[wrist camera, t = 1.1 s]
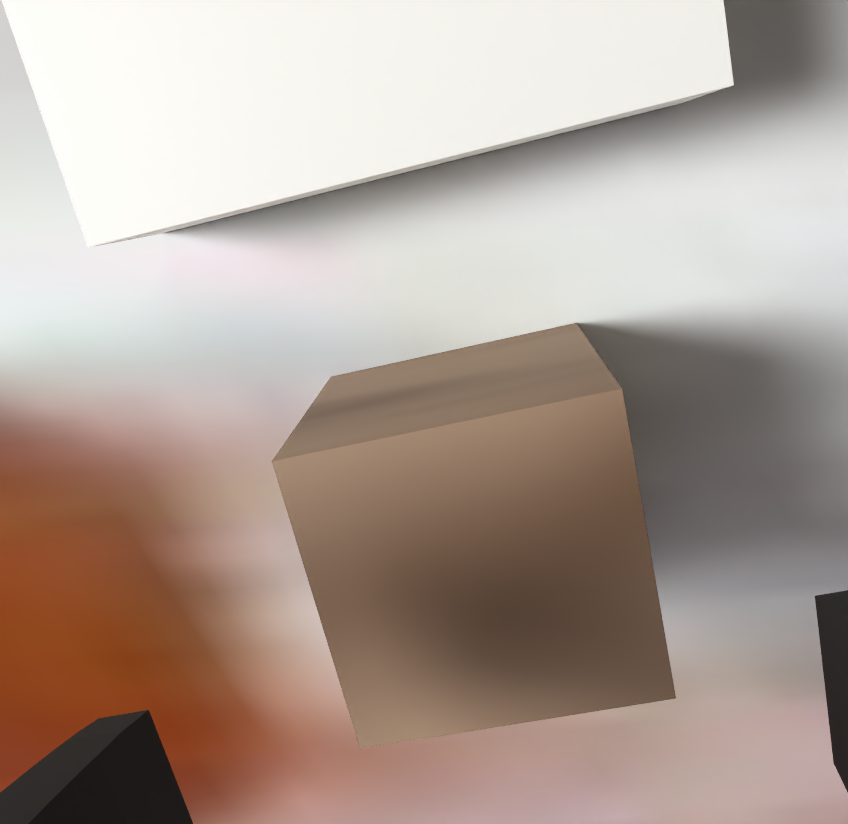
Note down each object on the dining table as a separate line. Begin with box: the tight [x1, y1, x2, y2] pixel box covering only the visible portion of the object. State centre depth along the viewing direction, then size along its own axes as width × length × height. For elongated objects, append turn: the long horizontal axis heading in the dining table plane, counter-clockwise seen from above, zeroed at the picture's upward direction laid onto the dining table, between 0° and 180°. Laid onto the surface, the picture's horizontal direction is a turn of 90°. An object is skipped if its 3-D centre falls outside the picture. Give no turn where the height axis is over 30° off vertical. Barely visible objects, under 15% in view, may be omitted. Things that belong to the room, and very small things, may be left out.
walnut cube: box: [272, 323, 676, 749], centre depth 14 cm, size 5×5×5 cm
